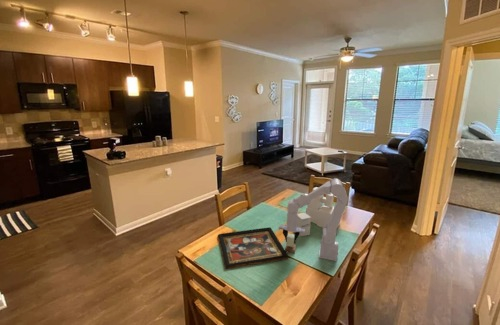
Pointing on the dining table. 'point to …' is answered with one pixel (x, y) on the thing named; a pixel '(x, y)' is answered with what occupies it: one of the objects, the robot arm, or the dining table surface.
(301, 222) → the supplement box
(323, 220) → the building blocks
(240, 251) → the framed icon painting
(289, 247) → the walnut base
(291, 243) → the sage block
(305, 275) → the dining table surface
